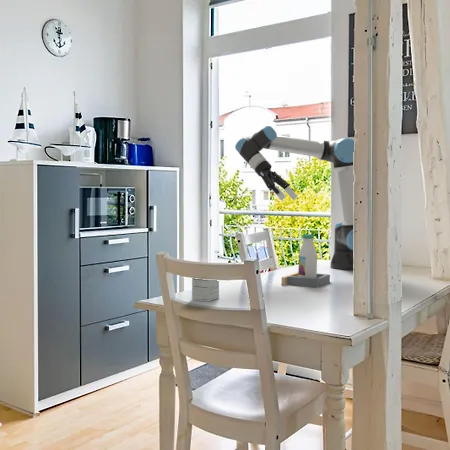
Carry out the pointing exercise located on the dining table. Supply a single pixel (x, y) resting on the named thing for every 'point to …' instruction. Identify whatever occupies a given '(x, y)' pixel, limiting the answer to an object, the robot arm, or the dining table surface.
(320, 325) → the dining table surface
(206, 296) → the supplement box
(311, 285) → the tray
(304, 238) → the milk bottle
